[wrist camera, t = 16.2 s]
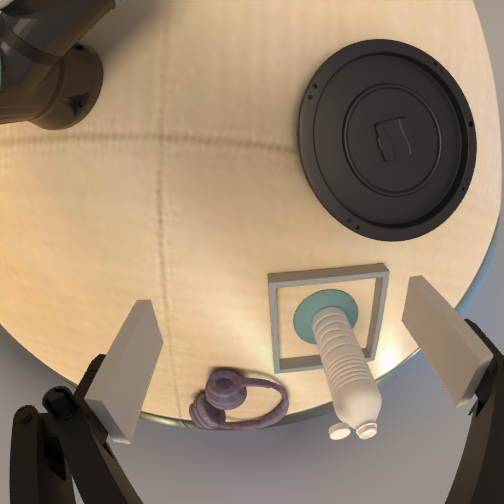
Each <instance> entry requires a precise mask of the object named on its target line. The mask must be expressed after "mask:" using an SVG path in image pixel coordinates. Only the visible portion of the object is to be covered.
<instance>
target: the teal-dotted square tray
mask: <svg viewBox="0 0 504 504" xmlns="http://www.w3.org/2000/svg"><path fill="white" fill-rule="evenodd" d="M371 278H376V284H375V293H374V300H373V308H372V315H371V321H370V328H369V334H368V340H367V345H366V348H363V349H361V351H362V352H363V354H364V357H365V360H366V362H368V361H373V360H374V359H375V354H376V350H377V345H378V340H379V335H380V330H381V324H382V319H383V313H384V307H385V300H386V294H387V287H388V279H389V270H388V269H387V267H386V266H385V265H384V264H383V263H380V264H371V265H361V266H351V267H341V268H330V269H320V270H309V271H298V272H286V273H274V274H268V284H269V299H270V314H271V329H272V345H273V361H274V373H275V374H277V373H288V372H298V371H307V370H315V369H323V364H322V361H321V357H320V355H314V356H305V357H296V358H286V359H279V343H278V322H277V303H276V288H282V287H293V286H304V285H314V284H324V283H334V282H344V281H353V280H362V279H371Z"/></svg>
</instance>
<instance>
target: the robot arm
mask: <svg viewBox="0 0 504 504" xmlns="http://www.w3.org/2000/svg"><path fill="white" fill-rule="evenodd" d="M121 1H122V0H0V11H2V12H1V14H0V124H6V123H14V122H22V121H29V122H31V123H33V124H35V125H37V126H39V127H41V128H43V129H48V130H59V129H66V128H69V127H71V126H73V125H75V124H77V123H78V122H79V121H81V120H82V119H83V118H84V117H85V116H86V115H87V114H88V113H89V111H90V110H91V109H92V107H93V105H94V104H95V102H96V100H97V98H98V95H99V93H100V89H101V85H102V79H103V70H102V64H101V61H100V58H99V56H98V55H97V53H96V52H95V51H94V50H93V49H92V48H91V47H89V46H87V45H84V44H82V43H79V42H78V41H79V40H80V39H81V38H82V37H83V36H84V35H85V34H86V33H87V32H88V31H89V30H90V29H91V28H92V27H93V26H94V25H95V24H96V23H97V22H98V21H99V20H100V19H101V18H102V17H103V16H105V15H106V14H107V13H108V12H109V11H110V10H111V9H115V8H116V7H117V6H118V4H119V2H121ZM402 322H403V323H404V325H405V326H406V328H407V329H408V331H409V332H410V334H411V335H412V337H413V338H414V340H415V341H416V343H417V344H418V346H419V348H420V349H421V351H422V352H423V354H424V355H425V357H426V358H427V360H428V362H429V363H430V365H431V366H432V368H433V370H434V371H435V373H436V375H437V376H438V378H439V380H440V381H441V383H442V385H443V386H444V388H445V390H446V391H447V393H448V395H449V396H450V398H451V400H452V402H453V403H454V405H455V407H459V406H462V405H464V404H466V403H469V401H470V400H471V398H472V397H473V395H474V393H475V394H476V396H477V397H478V399H477V401H476V402H475V404H474V405H473V407H472V409H471V411H470V412H469V415H471V413H472V412H473V416H472V421H471V425H470V429H469V433H468V437H467V440H466V444H465V448H464V451H463V455H462V458H461V461H460V464H459V467H458V470H457V473H456V476H455V479H454V482H453V484H452V487H451V490H450V492H449V495H448V497H447V500H446V502H445V504H504V355H502V354H501V353H500V352H499V350H498V349H497V348H496V347H495V345H494V344H493V343H492V342H491V341H490V340H489V338H487V337H486V335H485V334H484V333H483V332H481V329H480V328H479V327H478V326H477V325H476V324H475V323H473V322H472V321H470V320H468V319H463V318H462V317H461V316H460V315H459V314H458V313H457V312H456V311H455V310H454V308H453V307H452V306H451V305H450V304H449V303H448V302H447V301H446V300H445V299H444V298H443V297H442V296H441V295H440V294H439V293H438V291H437V290H436V289H435V288H434V287H433V286H432V285H431V284H430V283H429V282H428V281H427V280H426V279H425V278H424V277H423V276H422V275H421V276H413V277H410V278H409V285H408V290H407V296H406V301H405V306H404V311H403V316H402ZM163 343H164V342H163V339H162V336H161V333H160V330H159V326H158V323H157V320H156V316H155V313H154V310H153V306H152V303H151V300H137V301H136V303H135V304H134V306H133V308H132V310H131V311H130V313H129V315H128V317H127V318H126V320H125V322H124V324H123V325H122V327H121V329H120V331H119V333H118V334H117V336H116V338H115V340H114V342H113V343H112V345H111V347H110V349H109V351H108V353H107V355H104V354H99V355H98V356H97V357H96V358H95V359H94V360H92V361H91V363H90V365H89V367H88V369H87V371H86V372H85V374H84V376H83V378H82V380H81V381H80V383H79V385H78V387H77V389H76V391H75V393H74V395H73V394H72V393H71V391H70V390H69V388H67V387H65V386H57V387H54V388H52V389H50V390H49V391H48V392H47V393H46V394H45V395H44V397H43V399H42V405H43V406H44V407H45V409H46V410H47V411H48V413H39V412H38V411H37V409H36V408H35V407H34V406H32V405H26V406H23V407H21V408H20V409H18V410H17V412H16V413H15V415H14V419H13V427H12V437H11V451H10V504H76V501H75V495H74V489H73V482H72V477H73V479H74V481H75V484H76V486H77V489H78V491H79V493H80V495H81V498H82V500H83V502H84V504H143V502H142V501H141V499H140V498H139V496H138V495H137V493H136V492H135V490H134V488H133V487H132V485H131V484H130V482H129V480H128V479H127V477H126V475H125V474H124V472H123V470H122V468H121V467H120V465H119V463H118V461H117V459H116V458H115V456H114V454H113V452H112V450H111V448H110V446H109V444H108V443H107V442H106V439H107V436H108V434H109V435H110V436H111V438H112V439H113V440H114V441H116V442H122V443H128V444H131V441H132V438H133V434H134V431H135V427H136V424H137V421H138V418H139V415H140V412H141V408H142V405H143V402H144V399H145V396H146V393H147V390H148V387H149V384H150V381H151V378H152V375H153V372H154V369H155V366H156V363H157V360H158V357H159V354H160V351H161V348H162V346H163ZM71 474H72V475H71Z"/></svg>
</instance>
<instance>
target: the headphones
mask: <svg viewBox="0 0 504 504" xmlns="http://www.w3.org/2000/svg"><path fill="white" fill-rule="evenodd" d="M247 386H256V387H265V388H270V387H271V388H273V389H275V390H277V391H279V392H280V393H281V394H282V397H283V399H282V402H281V403H280V405H279V406H278V407H277V408H276V409H275V410H274V411H273V412H271V413H270V414H269V415H267V416H265V417H263V418H261V419H259V420H256V421H253V422H250V423H244V424H232V423H229V422H225V420H226V415H225V411H224V410H230V409H234V408H237V407H238V406H240V405H241V404H242V403H243V402H244V401H245V399H246V396H247V390H246V387H247ZM205 389H206V390H205V394H202V395H201V396H199V397H197V398H196V399H195V400H194V402H193V403H191V404H190V406H189V414H190V417H191V419H192V420H193V422H194V423H195V424H196V425H197V426H199V427H201V428H205V427H206V428H208V429H214V428H218V427H220V428H225V429H237V430H251V429H258V428H262V427H266V426H269V425H272V424H274V423H276V422H278V421H279V420H281V418H282V417H284V415H285V414H286V413H287V411H288V407H289V402H288V398H287V395H286V392H285V389H284V388H283V387H282V386H280V385H278V384H276V383H273V382H270V381H268V380H264V379H257V378H243V377H240V376H238V375H237V374H236V373H234V372H232V371H228V370H221V371H217V372H215V373H213V374H212V375H211V376H210V377H209V379H208V381H207V383H206V387H205Z"/></svg>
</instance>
